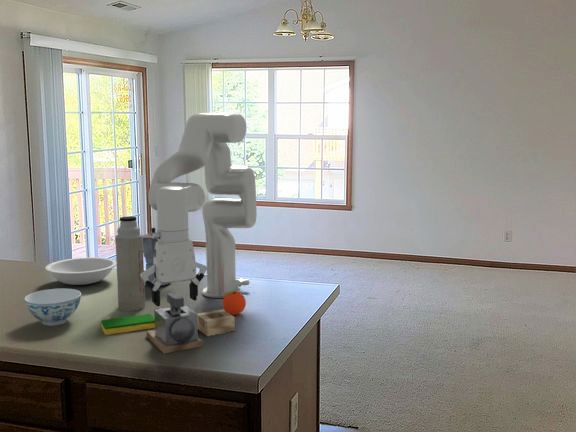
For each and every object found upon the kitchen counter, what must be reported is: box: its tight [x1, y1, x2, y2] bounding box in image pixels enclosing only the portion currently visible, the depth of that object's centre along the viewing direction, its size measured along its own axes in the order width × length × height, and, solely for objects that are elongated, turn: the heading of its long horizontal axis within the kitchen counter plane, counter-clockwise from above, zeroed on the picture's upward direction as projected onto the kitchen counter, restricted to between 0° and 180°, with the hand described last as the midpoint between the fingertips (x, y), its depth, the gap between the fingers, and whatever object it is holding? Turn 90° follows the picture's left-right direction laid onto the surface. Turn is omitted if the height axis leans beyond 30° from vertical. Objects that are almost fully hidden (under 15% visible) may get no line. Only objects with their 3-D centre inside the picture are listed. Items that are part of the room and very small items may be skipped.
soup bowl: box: [44, 256, 117, 286], centre depth 217 cm, size 24×24×7 cm
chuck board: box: [146, 329, 203, 354], centre depth 159 cm, size 10×14×2 cm
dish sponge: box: [100, 313, 155, 336], centre depth 170 cm, size 7×14×2 cm, turn 116°
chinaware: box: [24, 288, 82, 327], centre depth 174 cm, size 15×15×8 cm
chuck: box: [153, 304, 199, 346], centre depth 160 cm, size 19×8×7 cm, turn 30°
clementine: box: [222, 291, 247, 316], centre depth 181 cm, size 8×7×7 cm
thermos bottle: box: [115, 216, 146, 312], centre depth 187 cm, size 8×8×28 cm
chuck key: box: [166, 291, 185, 315], centre depth 157 cm, size 6×3×11 cm, turn 30°
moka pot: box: [142, 227, 170, 287], centre depth 214 cm, size 10×15×20 cm, turn 95°
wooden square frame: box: [197, 308, 236, 337], centre depth 168 cm, size 8×8×4 cm
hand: (175, 302), depth 156 cm, fingers open, 9 cm apart
